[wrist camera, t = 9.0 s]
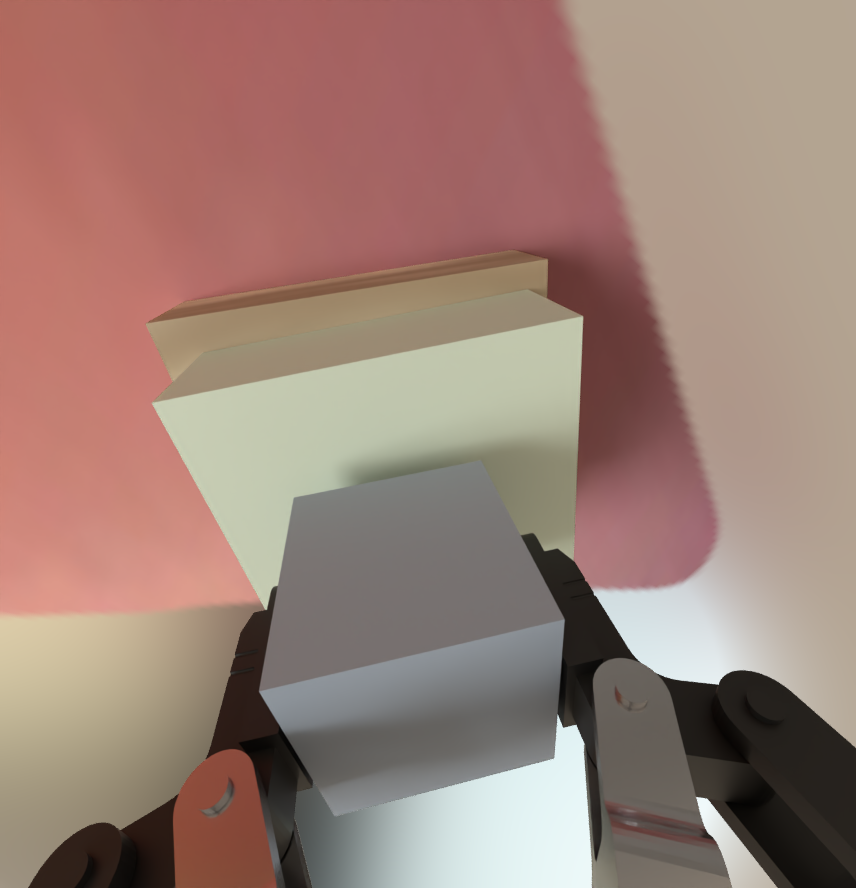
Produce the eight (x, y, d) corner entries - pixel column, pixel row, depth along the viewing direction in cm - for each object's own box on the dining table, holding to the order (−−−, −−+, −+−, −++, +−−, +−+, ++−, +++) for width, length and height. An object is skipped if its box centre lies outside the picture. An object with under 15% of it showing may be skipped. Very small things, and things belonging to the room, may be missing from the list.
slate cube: (293, 497, 11) (258, 691, 6) (480, 460, 11) (565, 619, 7) (338, 619, 13) (335, 816, 9) (489, 585, 14) (554, 758, 9)
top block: (202, 352, 14) (151, 402, 10) (527, 289, 14) (583, 315, 11) (304, 580, 19) (294, 662, 16) (534, 528, 20) (572, 596, 16)
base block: (189, 298, 16) (145, 323, 13) (509, 248, 17) (548, 258, 14) (287, 541, 23) (275, 600, 20) (514, 495, 24) (541, 544, 20)
